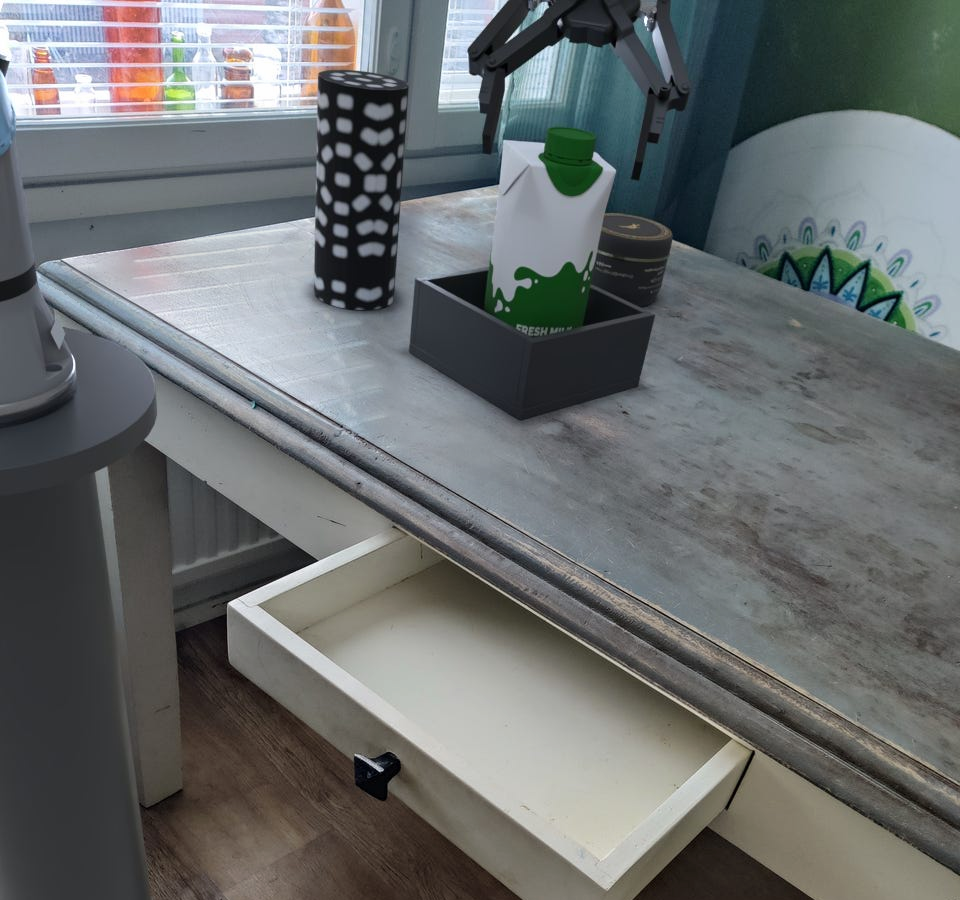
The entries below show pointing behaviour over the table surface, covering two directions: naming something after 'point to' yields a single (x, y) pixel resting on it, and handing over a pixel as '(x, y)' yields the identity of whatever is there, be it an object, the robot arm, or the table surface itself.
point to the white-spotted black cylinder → (358, 187)
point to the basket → (526, 346)
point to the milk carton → (547, 231)
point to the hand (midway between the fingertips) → (561, 158)
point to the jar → (631, 257)
